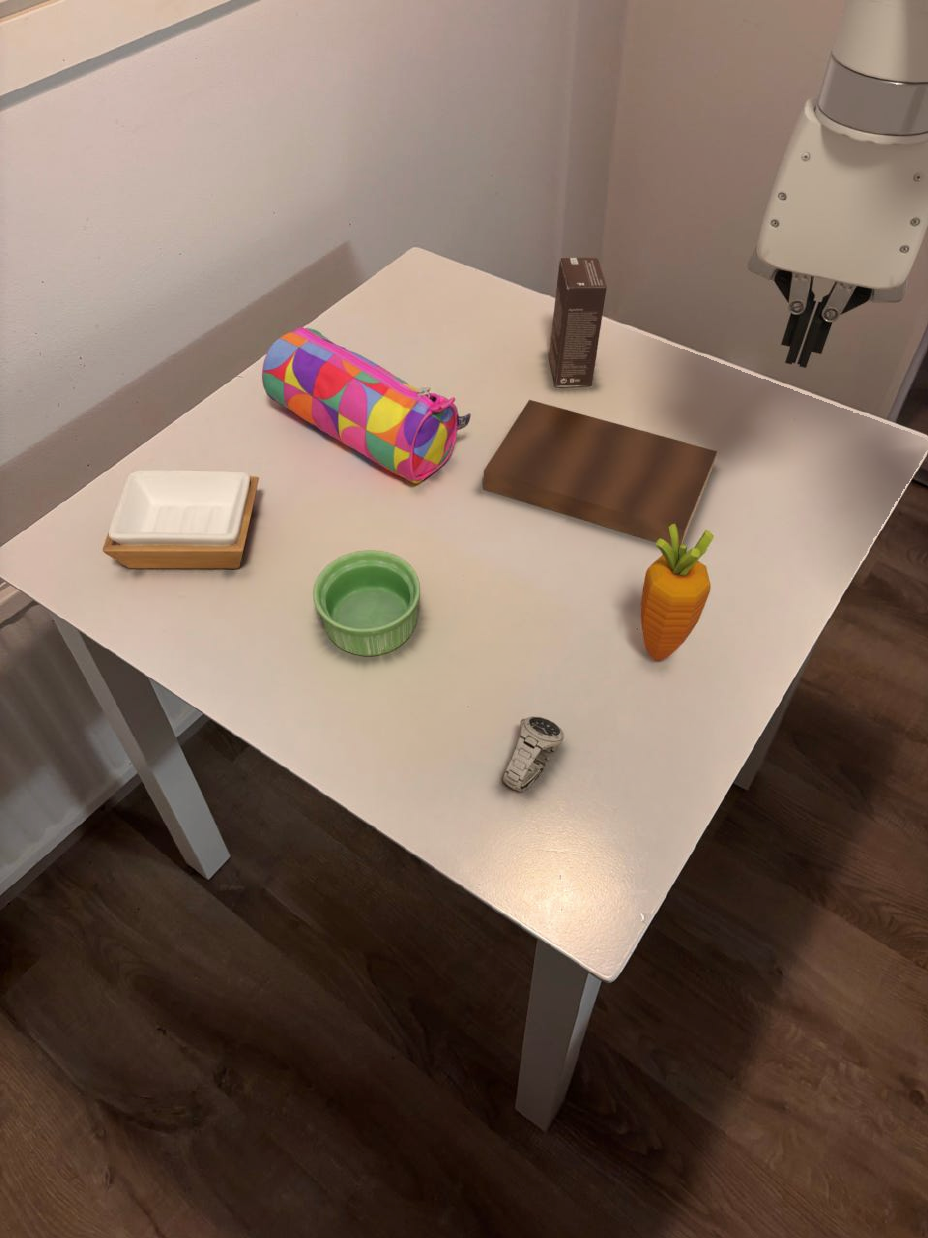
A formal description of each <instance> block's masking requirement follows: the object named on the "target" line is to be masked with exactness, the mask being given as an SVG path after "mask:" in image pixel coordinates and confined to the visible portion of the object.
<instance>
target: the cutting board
mask: <svg viewBox="0 0 928 1238" xmlns="http://www.w3.org/2000/svg"><path fill="white" fill-rule="evenodd" d="M717 454H718V451H717V450H714V449H710V448H707V447H703V446H700V445H696V444H694V443H693V444H692V443H689V442H686V441H682V440H678V439H674V438H670V437H667V436H663V435H660V434H656V433H653V432H650V431H644V430H642V429H638V428H634V427H631V426H627V425H623V424H620V423H616V422H612V421H609V420H605V419H601V418H597V417H594V416H592V415H591V416H590V415H587V414H583V413H580V412H577V411H573V410H569V409H565V408H561V407H557V406H554V405H550V404H547V403H543V402H539V401H536V400H532V399H529V400H528V401H527V403H526V404H525V405H524V407H523V409H522V410H521V412H520V413H519V415H518V416H517V418H516V420H515V421H514V423H513V424H512V426H511V428H510V429H509V431H508V432H507V434H506V435H505V437H504V438H503V440H502V442H501V443H500V445H499V446H498V448H497V449H496V451H495V452H494V454H493V456H492V457H491V459H490V460H489V462H488V463H487V465H486V466H485V468H484V470H483V490H485V491H487V492H491V493H494V494H498V495H500V496H503V497H507V498H511V499H513V500H517V501H520V502H523V503H527V504H529V505H532V506H533V505H534V506H537V507H540V508H542V509H547V510H549V511H553V512H555V513H560V514H563V515H566V516H569V517H573V518H576V519H579V520H583V521H586V522H588V523H592V524H596V525H598V526H602V527H605V528H609V529H612V530H616V531H619V532H622V533H625V534H628V535H631V536H635V537H637V538H641V539H645V540H648V541H650V542H655V543H657V541H658V540H659V539H663V540H664V541H666V542H667V543H668V544H669V545H670V546H671V547H672V541H671V536H670V532H669V526H670V525H671V524H675V525H676V528H677V531H678V539H679V550H680V546H681V545H683V543H684V540H685V538H686V535H687V533H688V530H689V529H690V525H691V523H692V521H693V518H694V515H695V513H696V511H697V508H698V506H699V503H700V501H701V498H702V496H703V494H704V491H705V489H706V486H707V483H708V481H709V479H710V477H711V474H712V471H713V468H714V465H715V462H716V458H717Z"/></svg>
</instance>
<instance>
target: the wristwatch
mask: <svg viewBox="0 0 928 1238" xmlns="http://www.w3.org/2000/svg"><path fill="white" fill-rule="evenodd" d="M519 721H520V732H519V738H518V740H517V743H516V747H515V749H514V752H513V754H512V757H511V759H510V761H509V763H508V765H507V766H506V769H505V772H504V774H503V778H502V779H503V780H502V781H503V783H504V784H505V785H506V786H508V787H509V788H510V789H512V790H514V791H517V792H520V793H522V792H523V793H524V792H525V791H528V790H529V788H531V786H532V785H533V784H534V782H535V781H538V779H540V777H541V776H542V774H543V773H544V771H545V769H546V767H547V765H548V763H549V762H550V761H551V759H552V757H553V756H554V754H555V753H556V751H557V749H558V747H559V746H561V745H562V744H563V742H564V737H565V736H564V734H565V733H564V731H563V730H562V728H561V727H560V726H559V725H558V724H557V723H555V722H553V721H552V720H550V719H548V718H545V717H542V716H529V717H526V718H522V719H520V720H519Z"/></svg>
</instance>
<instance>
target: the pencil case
mask: <svg viewBox="0 0 928 1238" xmlns="http://www.w3.org/2000/svg"><path fill="white" fill-rule="evenodd" d="M261 382H262V386H263V389H264V392H265V393H266V395H267V396H268V398H269V399H270V400H271V401H273V402H275V403H277V404H279V405H281V406H282V407H284V408H286V409H287V410H290V411H292V412H293V413H294V414H295V415H297V417H298V416H299V417H300V418H301V419H303V420H304V421H306V423H309V424H311V425H312V426H314V427H316V428H317V429H318V430H320V431H321V432H323V433H325V434H328V435H329V436H330V437H331V438H334V439H336V440H337V441H339V442H340V443H342V444H344V445H345V446H347V447H348V448H351V449H352V450H354V451H357V452H358V453H360V454H361V455H363V456H365V457H366V458H368V459H369V460H371V461H372V462H374V463H376V464H377V465H379V466H380V467H382V468H384V469H385V470H387V471H389V472H390V473H392V474H394V475H397V476H400V477H402V478H404V479H405V480H406V481H409V482H411V483H413V484H419V483H421V482H423V481H424V480H425V479H427V478H428V477H429V476H431V475H432V474H434V473H435V472H436V471H437V470H439V469H440V468H441V467H443V466H444V465H445V463H446V462H447V461H448V460H449V458H450V456H451V454H452V452H453V450H454V447H455V443H456V439H457V434H458V431H460V430H463V429H464V428H466V427H467V426H468V425H469V423H470V421H471V416H472V414H471V412H469V413H467V414H464V415H460V414H459V410H458V408H457V406H456V404H455V401H456V397H450V398H449V399H448V398H447V397H446V396H443V395H440V394H437V393H435V392H430V390H431V389H432V387H429V386H426V387H425V386H423V387H420V388H417V387H414V386H413V385H410V384H409V383H408V382H406V381H405V380H403V379H401V378H399V377H398V376H396V375H394V374H393V373H391V372H390V371H388V370H387V369H386V368H385V367H383V366H381V365H379V364H377V363H376V362H374V361H373V360H370V359H369V358H367V357H365V356H364V355H362V354H359V353H357V352H355V351H352V350H349V349H347V348H346V347H343V346H341V345H338V344H336V343H335V342H333V341H332V340H330V339H329V338H327V337H326V336H325V335H324V334H322V333H321V332H320V331H319V330H317V329H313V328H310V327H303V326H300V327H297V328H296V329H295V330H293V331H289V332H287V333H285V334H283V335H282V336H280V337H279V338H278V339H276V340H275V341H274V342H273V343H272V344H271V345H270V347H269V348H268V350H267V352H266V354H265V357H264V360H263V364H262V369H261Z"/></svg>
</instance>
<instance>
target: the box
mask: <svg viewBox="0 0 928 1238" xmlns="http://www.w3.org/2000/svg"><path fill="white" fill-rule="evenodd" d="M605 279H606V278H605V277H604V273H603V269H602V267H601V263H600V260H599V258H598V257H561V258H560V259H559V264H558V272H557V280H556V288H555V289H556V291H555V298H554V308H553V315H552V324H551V325H552V326H551V333H550V342H549V352H548V359H549V364H550V370H551V375H552V379H553V382H554V383H553V384H554V386H555V387H559V388H575V387H586V386H592V385H593V380H594V374H595V367H596V362H597V361H596V360H597V355H598V348H599V340H600V335H601V334H600V333H601V328H602V322H603V321H602V320H603V315H604V308H605V301H606V295H607V289H608V286H607V283H606V280H605Z"/></svg>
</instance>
